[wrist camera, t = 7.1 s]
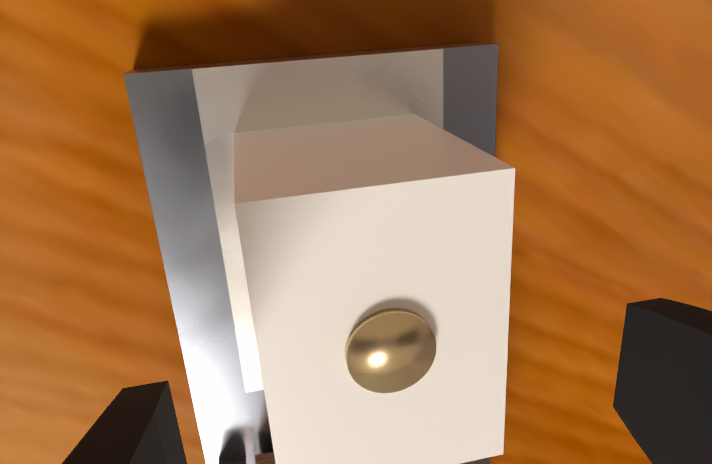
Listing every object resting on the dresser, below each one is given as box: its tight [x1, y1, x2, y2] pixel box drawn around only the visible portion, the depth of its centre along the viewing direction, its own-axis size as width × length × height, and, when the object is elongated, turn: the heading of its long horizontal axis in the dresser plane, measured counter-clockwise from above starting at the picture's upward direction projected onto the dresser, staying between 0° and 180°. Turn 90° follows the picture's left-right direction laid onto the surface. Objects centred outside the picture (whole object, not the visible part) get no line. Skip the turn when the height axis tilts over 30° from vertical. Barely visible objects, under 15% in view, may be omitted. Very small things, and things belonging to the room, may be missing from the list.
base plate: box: [124, 42, 499, 464], centre depth 16 cm, size 9×18×2 cm, turn 4°
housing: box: [234, 114, 515, 464], centre depth 12 cm, size 4×6×6 cm
